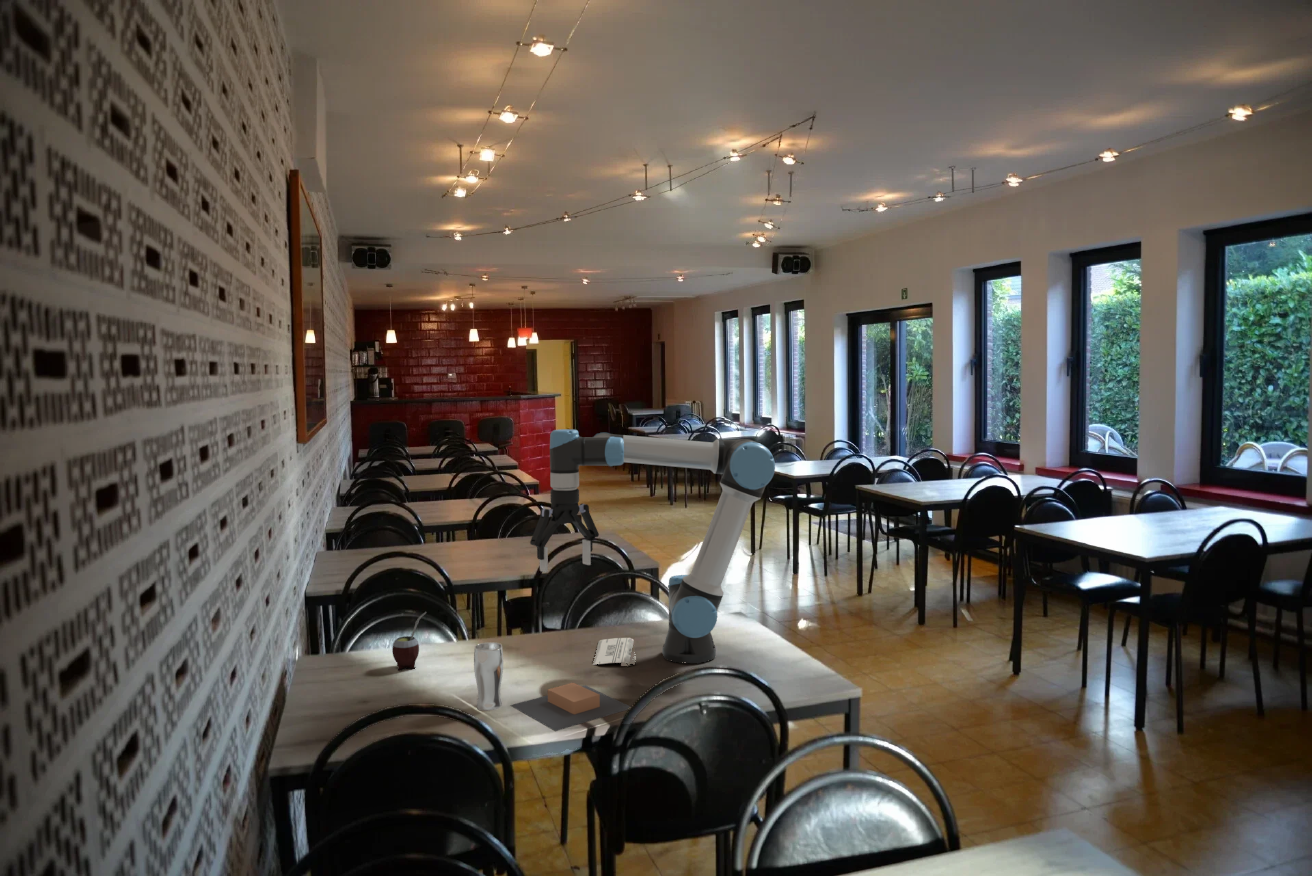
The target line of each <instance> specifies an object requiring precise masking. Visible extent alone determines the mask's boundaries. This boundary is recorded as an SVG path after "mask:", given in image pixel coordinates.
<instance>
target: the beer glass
mask: <svg viewBox="0 0 1312 876" xmlns="http://www.w3.org/2000/svg"><path fill="white" fill-rule="evenodd" d="M473 671H474V678H475V681H476V687H477V688H476V689H477V701H476V710H478V711H479V712H482V711H496V710H499V709H500V708H501V707H502V706H503V703H502V702H503V701H502V697H501V687H502V681H503V679H502V678H503V673H504V652H503V645H502V643H500V642H496V641H495V642H493V641H491V642H490V641H489V642H482V643H478V644H476V645H474V652H473Z"/></svg>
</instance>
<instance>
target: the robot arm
mask: <svg viewBox="0 0 1312 876" xmlns="http://www.w3.org/2000/svg"><path fill="white" fill-rule="evenodd" d="M549 435H550V436H549V437H550V438H549V469H550V470H549V471H550V475H549V477H550V481H549V482H550V487H551V489H550V503H551V504H550V505H551V507H550V508H544V507H543V508H540V513H539V519H538V521H537V524H536V525H535V529H534V531H533V533H532V537H531V539H530V541H529V543H530V545H532V546H535V547H536V553H537V554H536V556H537V560H539V571H540V572H543V573H548V572H549V561H548V558H549V557H548V556H549V555H548V554H549V553H548V552H549V551H548V550H549V548H548V546H547V547H546V545H547V544H548V542H549V541H550V539H551V537H552V536H553V534H554V533H555V531H556V529H557V528H558V527H559V526H560V525H566V524H573V525H574V526H575V528H576V529H577V530H578V532H579V533H580V534H581V535H582V536H583V538H584V539H582V541H581V542H582V547H581V548H582V564H583V565H586V566H591V565H592V564H591V563H592V562H591V561H592V560H591V558H592V557H591V555H592V552H593V542H594V541H595V540H596V538H598V537H599V536H600V534H599V531H598V528H597V526H596V524H595V522H594V519H593V517H592V515H591V513H590V507H589V504H586V503H579V502H580V490H579V486H580V471H579V470H580V466H582V467H585V466H596V467H597V466H602V467H603V466H604V467H605V466H606V467H607V466H608V467H613V466H622V465H623V464H625V463H631V464H642V465H643V464H644V465H652V466H666V467H676V468H687V469H688V468H689V469H697V470H700V469H701V470H708V471H709V470H710V471H711V472H712V473H713V474H715V475H716V474H717V475H721V478H720V481H719V485H720V487H721V489H722V492H721V495H720V497H719V499H718V503H717V505H716V506H715V510H714V513H713V515H712V517H711V521H710V522H709V525H708V529H707V531H706V533H705V535H704V538H703V542H702V543H701V546H700V548H699V551H698V554H697V556H696V558H695V561H694V564H693V567H692V569H691V572H690V573H689V574H681V575H673V576H670V577H669V579H668V585H667V587H668V628H667V629H668V631H667V633H666V636H665V640H664V644H663V646H662V650H661V651H662V653H661V655H662V654H663V656H664V657H663V656H662V657H663V659H665V658H666V659H668V660H667V661H669V660H672V661H674V662H673V663H676V662H680V663H679V664H683V663H684V662H686V663H697V664H701V663H700V662H704V663H707V662H706V661H708V660H711V661H712V659H713V658H714V659H716V657H715V656H717V655H716V654H717V653H716V651H717V648H716V646H715V642H714V638H713V635H712V631H713V630H714V628H715V627H716V625H717V622H718V610H719V607H720V604H721V602H722V600H723V598H724V591H723V589H722V583H723V581H724V578H725V576H726V573H727V571H728V568H729V565H730V563H731V560H732V557H733V555H734V553H735V550H736V548H737V544H738V542H739V540H740V537H741V534H742V532H743V529H744V527H745V525H746V521H747V519H748V516H749V513H750V511H751V508H752V506H753V504H754V503H755V502H757V501H759V500H761V498H762V497H763V494H764V492H765V488H766V486H767V485H768V484H769V483H770V482H771V481H772V479H773V477H774V475H775V471H776V462H775V458H774V456H773V454H772V452H771V451H770V449H769V448H768V447H766V446H765V445H764V444H761V443H759V442H758V441H756V440H753V439H749V438H748V439H747V438H745V439H744V438H742V439H719V438H718V439H715V440H714V441H713V442H709V441H698V440H687V439H673V438H661V437H650V436H637V435H628V434H627V435H625V434H616V433H615V434H613V433H609V432H600V433H596V434H595V435H594V436H592V437H591V436H590V437H586V436H585V437H582V436H580V435H579V431H578V430H577V429H554V430H552V431H551V432H550V434H549ZM579 513H580V515H581V517H582V519H583V522H584V523H585V524H584V523H583V522H582V519H581V518H580V517H579V516H578V514H579ZM550 517H551V518H550ZM666 659H665V660H666ZM714 659H713V660H714ZM682 662H683V663H682ZM708 662H709V661H708Z"/></svg>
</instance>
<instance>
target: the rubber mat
mask: <svg viewBox="0 0 1312 876" xmlns="http://www.w3.org/2000/svg"><path fill="white" fill-rule="evenodd" d="M581 686H582V687H584V688H586V689H588V690H591V691H593V692H595V693H597V694H599V695H600V707H597V708H594V709H591V710H587V711H584V712H581V713H578V714H572V713H570V712H568V711H566V710H564V709H562V708H560V707H558V706H556V705H554V704H552V703H550V702H548V694H547V695H543V696H540V697H536V698H531V699H529V700H524V701H522V702H521V701H520V702H517V703H514V704H510V705H509V706H511V707H512V708H514V709H515V710H518V711H519V712H521V713H523V714H525V715H526V716H528V717H529V718H531V719H533V720H535V721H537V722H539V723H540V724H542V725H544V726H546V728H548V729H551V730H552V731H554V732H557V731H560V730H561V731H562V730H564V729H567V728H571V727H574V726H578V725H580V724H581V725H582V724H585V723H588V722H590V721H595V720H598V719H601V718H604V717H608V716H610V715H611V716H612V715H614V714H617V713H621V712H625V711H627V709H628V708H629V707H631V706H630V705H628V704H626V703H624V702H623V701H619V700H617V699H616V698H613V697H612V696H610V695H607V694H605V693H603V692H600V691H599V690H597V689H594V688H592V687H590V686H588V685H586V684H585V685H584V684H583V685H581ZM628 710H629V709H628Z"/></svg>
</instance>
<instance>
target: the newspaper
mask: <svg viewBox="0 0 1312 876" xmlns="http://www.w3.org/2000/svg"><path fill="white" fill-rule="evenodd" d="M634 643H635V640H634V639H633V638H631V637H614V638H606V639H605V638H604V639H600V640H598V644H597V645H596V649H597V650H596V649H595V652H596V654H595V653H594V655H596V656H595V657H594V656H593V658H595V659H594V661H593V660H592V661H593V662H594V663H593V664H592V666H598V665H605V664H606V665H607V664H615V663H616V664H618V663H619V664H620V663H626V664H627V665H628V664H629V662H630V657H631V652H632V648H633V645H634ZM634 653H635V652H634ZM634 655H636V654H634ZM633 658H634V659H632V660H634V661H632V662H636V661H637V656H634V657H633ZM635 660H636V661H635ZM636 663H637V662H636ZM597 664H598V665H597ZM632 664H633V665H635V663H632ZM629 666H630V665H628V666H627V667H629Z"/></svg>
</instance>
